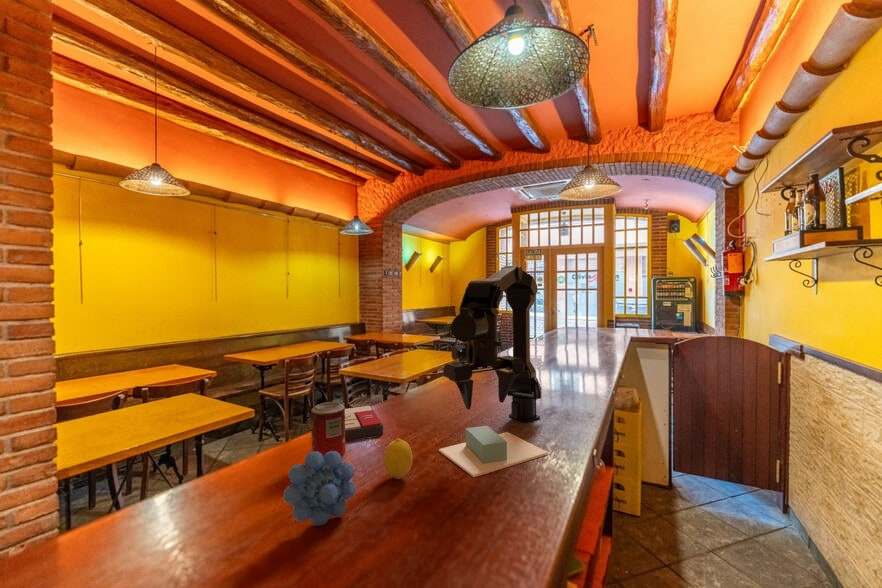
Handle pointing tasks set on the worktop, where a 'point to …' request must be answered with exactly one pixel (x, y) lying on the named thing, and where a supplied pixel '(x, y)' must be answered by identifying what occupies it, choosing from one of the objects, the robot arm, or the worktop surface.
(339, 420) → the soda can
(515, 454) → the mat
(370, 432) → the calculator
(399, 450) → the lemon
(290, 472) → the blue knobbed flower
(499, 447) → the grey-green block
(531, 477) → the worktop surface
